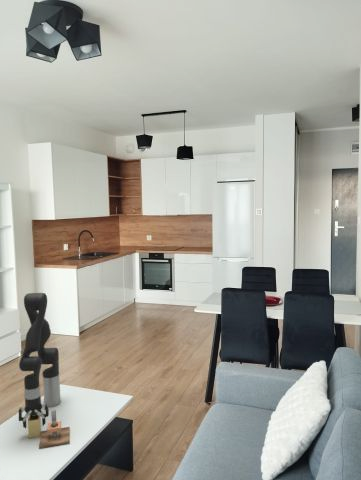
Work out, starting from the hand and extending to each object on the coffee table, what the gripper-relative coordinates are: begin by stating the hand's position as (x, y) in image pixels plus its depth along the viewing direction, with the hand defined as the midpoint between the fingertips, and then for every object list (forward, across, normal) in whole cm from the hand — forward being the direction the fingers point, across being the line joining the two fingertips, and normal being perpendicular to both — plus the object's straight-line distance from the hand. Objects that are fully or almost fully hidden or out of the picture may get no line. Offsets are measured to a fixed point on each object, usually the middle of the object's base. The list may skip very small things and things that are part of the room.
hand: (34, 426), depth 207 cm
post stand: (+4, -10, +7) cm, 13 cm away
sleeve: (+4, 0, 0) cm, 4 cm away
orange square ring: (-1, -10, +7) cm, 12 cm away
